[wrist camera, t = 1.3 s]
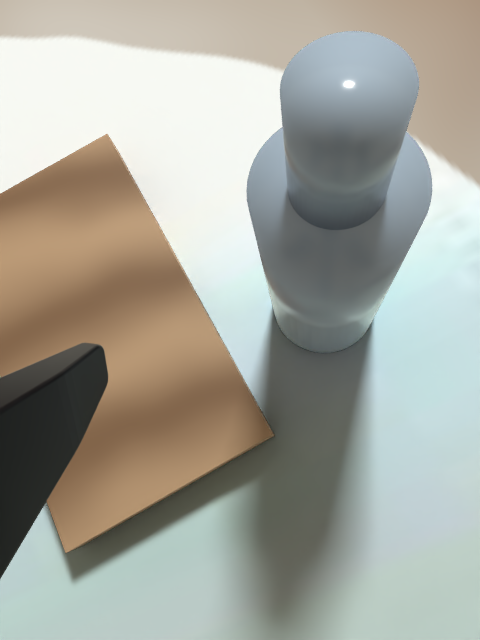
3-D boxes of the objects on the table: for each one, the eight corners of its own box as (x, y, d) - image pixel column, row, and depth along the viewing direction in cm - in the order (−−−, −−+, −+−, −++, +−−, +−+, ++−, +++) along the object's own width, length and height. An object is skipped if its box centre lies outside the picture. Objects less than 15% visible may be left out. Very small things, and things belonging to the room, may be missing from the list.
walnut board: (275, 435, 21) (272, 434, 19) (82, 545, 21) (65, 553, 19) (118, 150, 26) (107, 133, 25) (-36, 237, 26) (-56, 225, 25)
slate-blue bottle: (388, 337, 21) (525, 152, 8) (288, 364, 22) (257, 229, 8) (356, 246, 23) (427, -42, 9) (262, 272, 23) (201, 30, 10)
